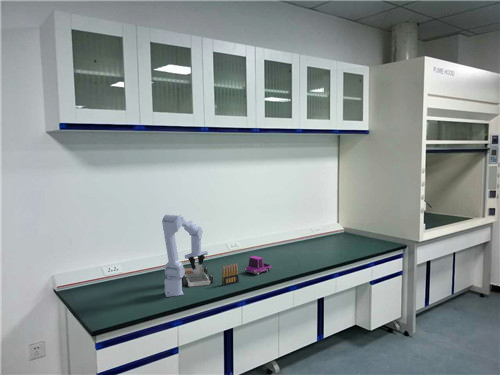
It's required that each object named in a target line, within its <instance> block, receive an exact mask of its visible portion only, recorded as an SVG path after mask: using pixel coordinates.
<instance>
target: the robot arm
mask: <svg viewBox="0 0 500 375" xmlns="http://www.w3.org/2000/svg"><path fill="white" fill-rule="evenodd" d="M161 224H162V230H163V234H164V242H165V247H166V254H167V260H168V261H167V262H166V263H165V265H164V274H165V276H166V277H167V278H165V279H164V294H165V297H166V298H167V297H168V298H169V297H176V296H177V297H178V296H184V295H185V294H184V292H183V284H182V283H183V281H182V280H183V279H184V274H185V267H184V264H183V262H182V261H180V260H179V255H178V249H177V242H176V235H175V234H176V233H177V232H178V231H179V230H180V229H181V227H183V229H184V230H185V231H186V232H188V234H189V236H190V243H191V244H190V245H191V246H190V247H191V248H190V250H191V252H190V253H187V254H185V255H184V259H188V262H189V263H190V266H191V268H192V269H195V263H196V257H197V260H198V261H197V263H200V264H202V265H203V263H204V260H205V259H206V256H207V255H208V253H209V252H208V251H202V236H203V228H202V227H201V226H197V224H195V223H193V221H192V220H190V221H187V220H186V219H184V216H182V215H177V214H176V215H175V214H164V216H163V217H162V220H161ZM182 278H183V279H182Z"/></svg>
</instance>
